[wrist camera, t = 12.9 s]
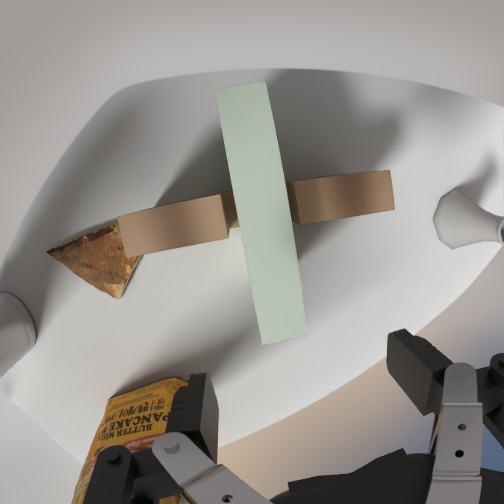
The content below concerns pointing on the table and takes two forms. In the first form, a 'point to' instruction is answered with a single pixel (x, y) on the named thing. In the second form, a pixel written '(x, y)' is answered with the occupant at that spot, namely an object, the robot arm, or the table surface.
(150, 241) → the walnut board
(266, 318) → the sage board
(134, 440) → the pancake mix bag
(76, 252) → the shard
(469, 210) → the flask
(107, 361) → the table surface
